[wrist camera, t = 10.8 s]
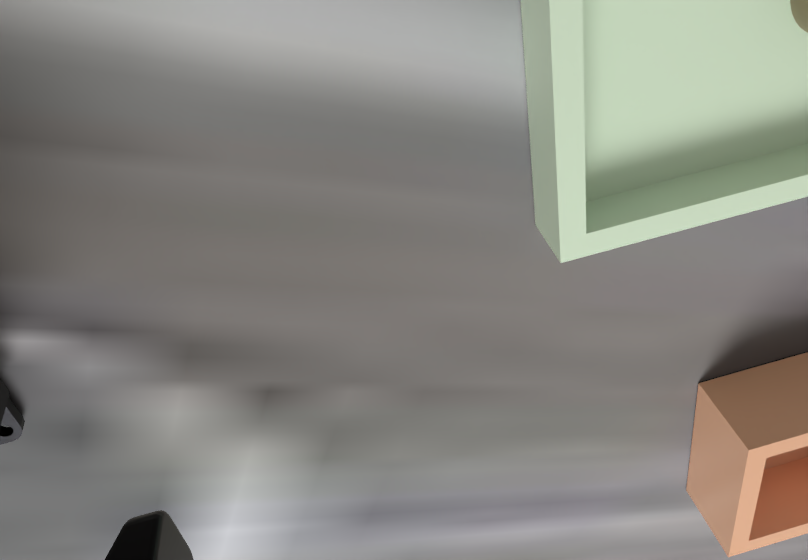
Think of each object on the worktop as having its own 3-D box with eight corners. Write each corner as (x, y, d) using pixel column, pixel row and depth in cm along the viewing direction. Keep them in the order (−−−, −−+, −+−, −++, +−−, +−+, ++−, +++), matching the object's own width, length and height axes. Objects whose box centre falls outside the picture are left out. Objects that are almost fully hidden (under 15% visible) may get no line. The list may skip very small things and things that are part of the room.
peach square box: (686, 490, 34) (728, 557, 31) (698, 383, 30) (748, 450, 27) (830, 447, 35) (884, 510, 32) (863, 336, 30) (929, 397, 28)
